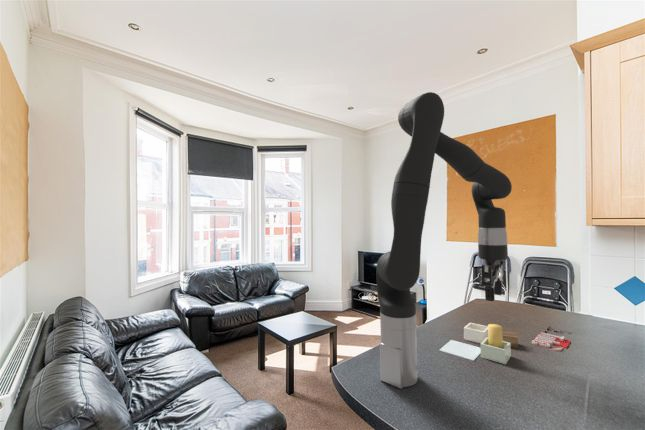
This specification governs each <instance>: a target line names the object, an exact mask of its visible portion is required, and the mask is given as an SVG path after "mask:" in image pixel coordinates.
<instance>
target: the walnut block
mask: <svg viewBox="0 0 645 430" xmlns="http://www.w3.org/2000/svg"><path fill="white" fill-rule="evenodd" d="M502 341H504V342H509V343H511V348H515V349H519V345H518V342H519V341H518V336H517V333H516V332H511V331H503V330H502Z"/></svg>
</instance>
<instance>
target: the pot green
mask: <svg viewBox="0 0 645 430" xmlns="http://www.w3.org/2000/svg"><path fill="white" fill-rule="evenodd" d="M502 342H503V349H501V348H498V347H494V346H490V345H489V343H488V337H486V338H485V339H484V341H483V342H482V343H481V344H480V343H479V344H480V345H479V346H480V349H481V353H480V358H481V359H486V360H489V361H493V362H496V363H499V364H502V365H507V363H508V362H509V360H510V358H511V357H512V349H511V348H512V347H511V343H509V342H504V341H502Z"/></svg>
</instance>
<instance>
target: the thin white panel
mask: <svg viewBox="0 0 645 430" xmlns="http://www.w3.org/2000/svg"><path fill="white" fill-rule="evenodd" d="M439 352H443V353H445V354H449V355H452V356H455V357H458V358H461V359H465V360H468V361H472V362H474V361H475V360H476V359H477V358H478V357H479V356H481V349H480V347H479V346H476V345H473V344H469V343H464V342H460V341H457V340H454V339H450V340H449V341H448V342H447V343H446V344H445V345H443V346H442V347H441V348H439Z"/></svg>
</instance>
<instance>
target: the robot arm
mask: <svg viewBox="0 0 645 430" xmlns="http://www.w3.org/2000/svg"><path fill="white" fill-rule="evenodd" d="M444 118H445V105H444V101H443V99H442V97H441V96H439V94H437V93H435V92H431V91H430V92H425V93H422V94H420V95H418V96H417V97H415V98H413V99H411V100H409V102H406V103H405V104H403V106H402V107H401V108H400V109H399V111H398V115H397V121H398V124H399V126H400V128H401V129H402V130H403V131H404V132H405V133H406V134H407V135H408V136H410V137H411V140H410V144H409V147H408V150H407V152H406V154H405V156H404V157H403V160H402V162H401V163H400V166H399V167H398V169H397V172H396V174H395V177H394V181H393V187H392V192H391V201H390V203H391V204H390V206H391V217H392V224H393V238H392V243H391V248H390V251H387V252H384V253H383V254H382V255H381V256H380V257H379V259H378V261H377V263H376V273H375V276H376V290H377V291H376V293H377V299H378V304H379V314H380V315H379V317H380V320H379V321H380V343H379V377H380V381H382V382H384V383H386V384H389V385H391V386H393V387H396V388H398V389H400V390H402V389H403V388H407V387H412V386H414V385H416V384H417V382H418V376H419V375H418V349H417V348H418V345H417V344H418V343H417V342H418V341H417V312H416V311H417V309H416V307H417V305H416V303H415V300H414V299H413V297H412V294H411V288H413V287H414V286H415V285H416V283H417V281H418V280H419V276H420V272H421V254H422V253H421V252H422V237H423V230H424V225H425V217H426V211H427V207H428V206H427V205H428V202H429V201H428V200H429V196H430V194H429V193H430V188H431V180H432V179H431V178H432V171H433V168H434V167H433V166H434V162H435V161H434V160H435V155H437V156H438V157H439V158H441V159H442V160H444V161H445V163H447V164H448V165H449V166H450V167H451V168H452V169H453V170H454V171H455V172H456V173H457V174H458V175H459V176H460V177H461V178H462V179H463V180H465V181H466V182H469V183H473V184H472V185H471V196H472V199H473V200H472V201H473V203H474V206H475V209H476V211H477V214H478V233H477V242H478V243H477V244H478V245H477V247H478V248H477V249H478V250H477V251H478V258H479V259H480V260H485V264H482V265H481V286H482V287H484V295H485V296H484V297H485V300H486V301H488V302H494V301H495V296H502V295H503V282H504V280H505V267H504V263H505V262H504V261H506V260H507V259H508V258H509V256H508V255H509V254H508V253H509V251H508V233H507V223H506V222H507V220H506V218H507V217H506V211H505V209H504V208H502V207H497V206H495V205H494V202H493V200H501V199H505V198H507V197H508V196H509V195H510V194H511V192H512V187H513V185H512V181H511V180H510V178H509V177H508V176H507V175H506V174H505V173H503V172H502V171H500V170H499V169H497V168H495V167H493V166H492V165H491V164H488V163H487V162H485V161H484V160H483V159H482V158H481V157H480V156H479V155H478V154H477V153H476V152H475V151H474V150H473V149H472V148H471V147H470V146H468V145H466V144H465V143H463V142H461V141H459V140H456V139H455V138H452V137H450V136H448V135H447V134H445V133H443V132H442V131H441V130H442V126H443V122H444Z"/></svg>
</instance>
